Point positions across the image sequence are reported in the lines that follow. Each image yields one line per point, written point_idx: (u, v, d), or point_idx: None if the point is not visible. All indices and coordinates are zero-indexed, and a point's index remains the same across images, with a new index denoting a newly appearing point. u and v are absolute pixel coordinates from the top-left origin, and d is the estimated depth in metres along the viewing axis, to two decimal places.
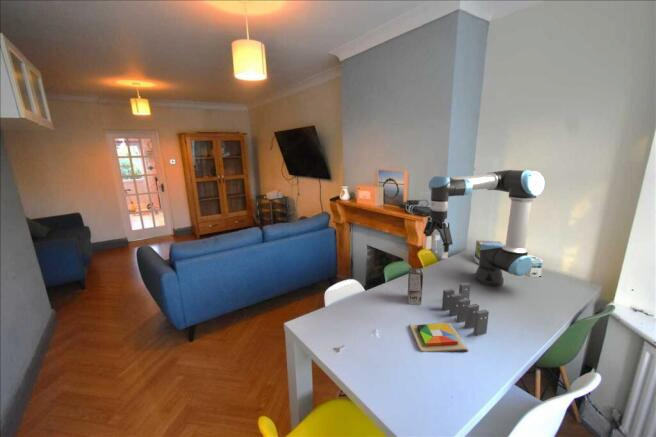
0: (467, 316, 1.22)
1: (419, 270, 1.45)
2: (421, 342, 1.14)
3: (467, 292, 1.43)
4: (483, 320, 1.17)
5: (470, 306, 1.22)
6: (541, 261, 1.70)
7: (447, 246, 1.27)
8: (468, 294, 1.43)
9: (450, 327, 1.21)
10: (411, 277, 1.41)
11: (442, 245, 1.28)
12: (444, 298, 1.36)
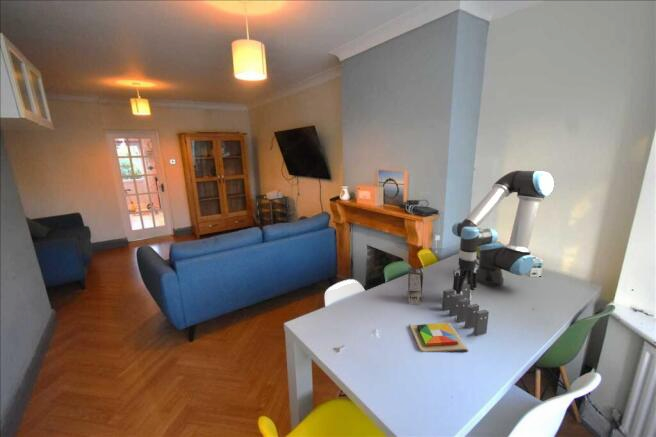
0: (467, 316, 1.22)
1: (419, 270, 1.45)
2: (421, 342, 1.14)
3: (467, 292, 1.43)
4: (483, 320, 1.17)
5: (470, 306, 1.22)
6: (541, 261, 1.70)
7: (457, 292, 1.42)
8: (468, 294, 1.43)
9: (450, 327, 1.21)
10: (411, 277, 1.41)
11: None
12: (444, 298, 1.36)
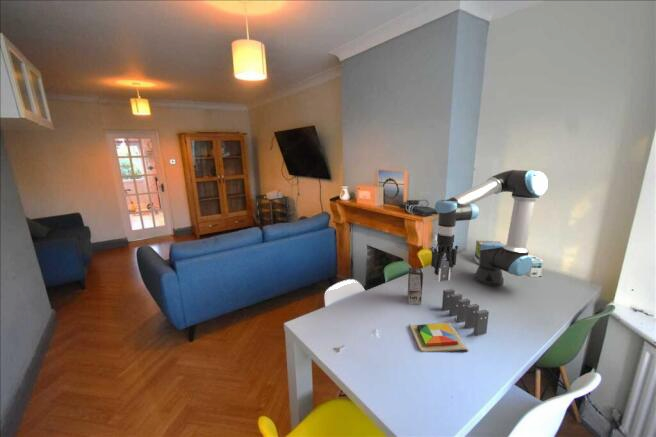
0: (467, 316, 1.22)
1: (419, 270, 1.45)
2: (421, 342, 1.14)
3: (446, 269, 1.38)
4: (483, 320, 1.17)
5: (470, 306, 1.22)
6: (541, 261, 1.70)
7: (435, 269, 1.38)
8: (447, 271, 1.39)
9: (450, 327, 1.21)
10: (411, 277, 1.41)
11: None
12: (444, 298, 1.36)
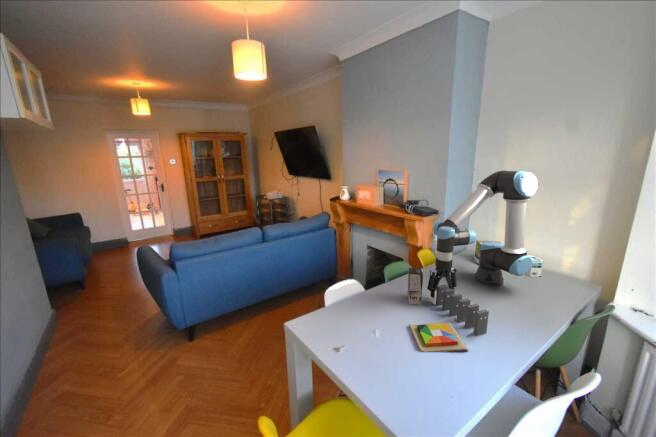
0: (467, 316, 1.22)
1: (419, 270, 1.45)
2: (421, 342, 1.14)
3: None
4: (483, 320, 1.17)
5: (470, 306, 1.22)
6: (541, 261, 1.70)
7: (431, 292, 1.40)
8: None
9: (450, 327, 1.21)
10: (411, 277, 1.41)
11: None
12: (444, 298, 1.36)
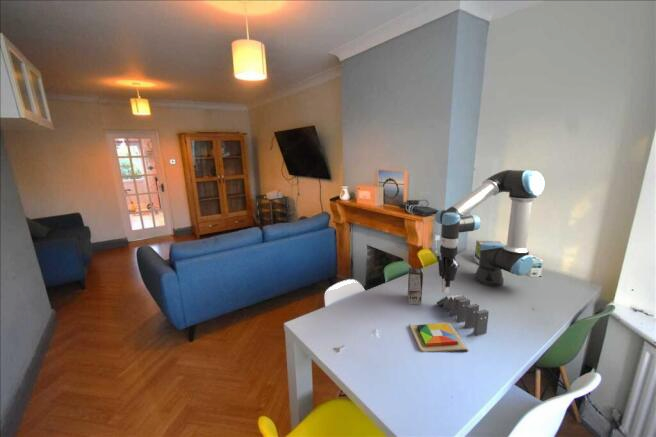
0: (467, 316, 1.22)
1: (419, 270, 1.45)
2: (421, 342, 1.14)
3: None
4: (483, 320, 1.17)
5: (470, 306, 1.22)
6: (541, 261, 1.70)
7: (448, 282, 1.36)
8: None
9: (450, 327, 1.21)
10: (411, 277, 1.41)
11: (444, 280, 1.37)
12: (449, 303, 1.33)
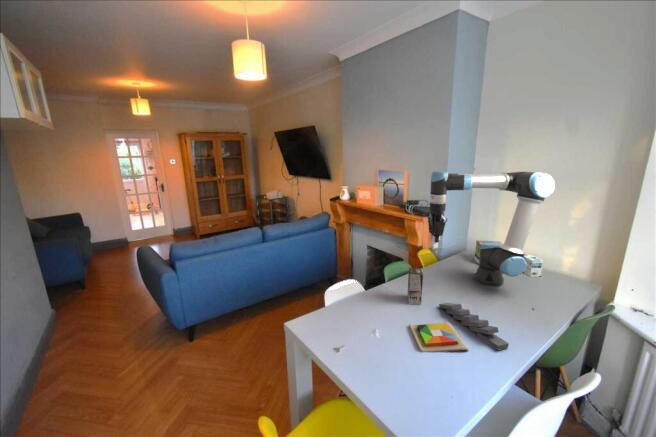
0: (479, 330, 1.16)
1: (419, 270, 1.45)
2: (421, 342, 1.14)
3: None
4: None
5: (490, 332, 1.12)
6: (541, 261, 1.70)
7: (437, 237, 1.44)
8: None
9: (450, 327, 1.21)
10: (411, 277, 1.41)
11: (433, 236, 1.45)
12: (454, 313, 1.29)
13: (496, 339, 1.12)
